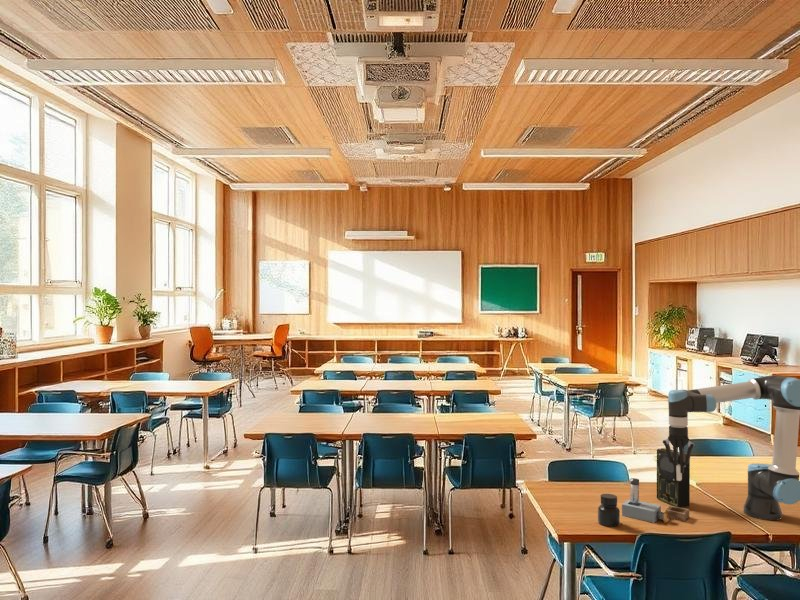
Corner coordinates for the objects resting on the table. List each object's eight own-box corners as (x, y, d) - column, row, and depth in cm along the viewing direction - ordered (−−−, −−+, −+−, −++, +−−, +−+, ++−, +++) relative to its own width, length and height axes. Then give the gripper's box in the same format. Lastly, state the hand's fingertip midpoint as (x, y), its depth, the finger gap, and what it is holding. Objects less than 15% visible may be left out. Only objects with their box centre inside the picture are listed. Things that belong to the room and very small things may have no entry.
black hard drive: (654, 498, 290) (654, 448, 291) (668, 497, 293) (668, 447, 293) (677, 509, 275) (677, 455, 276) (692, 507, 278) (692, 454, 278)
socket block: (660, 516, 265) (660, 505, 265) (654, 522, 257) (654, 511, 257) (629, 509, 274) (629, 499, 274) (621, 515, 266) (622, 504, 266)
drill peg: (640, 514, 268) (640, 479, 268) (637, 516, 265) (637, 481, 265) (631, 512, 270) (631, 477, 270) (629, 514, 267) (629, 479, 267)
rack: (689, 517, 265) (689, 509, 265) (684, 522, 258) (684, 514, 258) (670, 513, 270) (670, 505, 270) (665, 517, 264) (665, 510, 264)
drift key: (669, 520, 260) (669, 511, 260) (666, 522, 257) (666, 513, 257) (648, 515, 265) (648, 506, 266) (645, 518, 262) (645, 509, 262)
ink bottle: (615, 519, 260) (615, 492, 260) (623, 527, 251) (624, 499, 252) (594, 519, 260) (594, 492, 260) (601, 527, 251) (601, 499, 251)
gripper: (696, 426, 255) (697, 480, 255) (664, 422, 263) (665, 475, 263) (692, 429, 249) (693, 484, 249) (660, 425, 257) (661, 479, 257)
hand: (679, 479), depth 256 cm, fingers closed
